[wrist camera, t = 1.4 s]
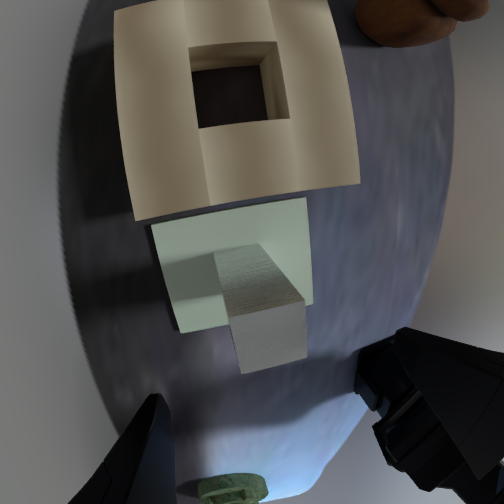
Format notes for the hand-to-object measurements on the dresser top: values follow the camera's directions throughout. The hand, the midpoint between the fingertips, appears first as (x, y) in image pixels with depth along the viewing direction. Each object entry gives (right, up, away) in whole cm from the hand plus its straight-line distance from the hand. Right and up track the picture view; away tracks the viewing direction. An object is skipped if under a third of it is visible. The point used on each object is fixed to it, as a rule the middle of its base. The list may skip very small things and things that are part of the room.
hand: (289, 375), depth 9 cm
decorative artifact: (-4, -30, +20) cm, 36 cm away
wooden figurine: (+9, +23, +6) cm, 25 cm away
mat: (-2, +3, +10) cm, 11 cm away
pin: (-2, +3, +9) cm, 10 cm away
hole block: (-3, +14, +6) cm, 15 cm away
